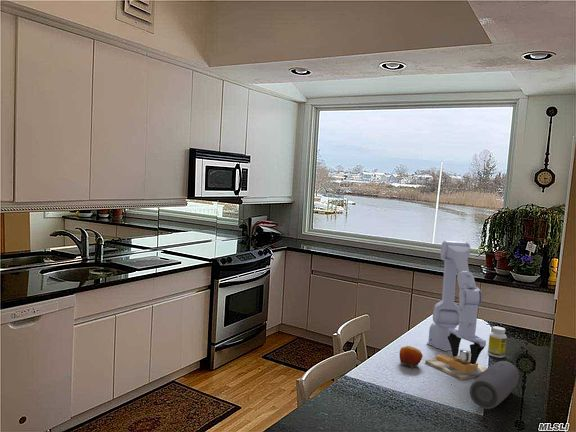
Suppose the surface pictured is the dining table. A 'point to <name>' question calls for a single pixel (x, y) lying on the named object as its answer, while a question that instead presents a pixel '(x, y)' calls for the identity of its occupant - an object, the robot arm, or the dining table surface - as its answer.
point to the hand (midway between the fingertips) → (463, 359)
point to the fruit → (410, 356)
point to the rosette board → (453, 371)
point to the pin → (464, 357)
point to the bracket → (457, 363)
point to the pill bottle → (497, 342)
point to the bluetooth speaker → (494, 384)
